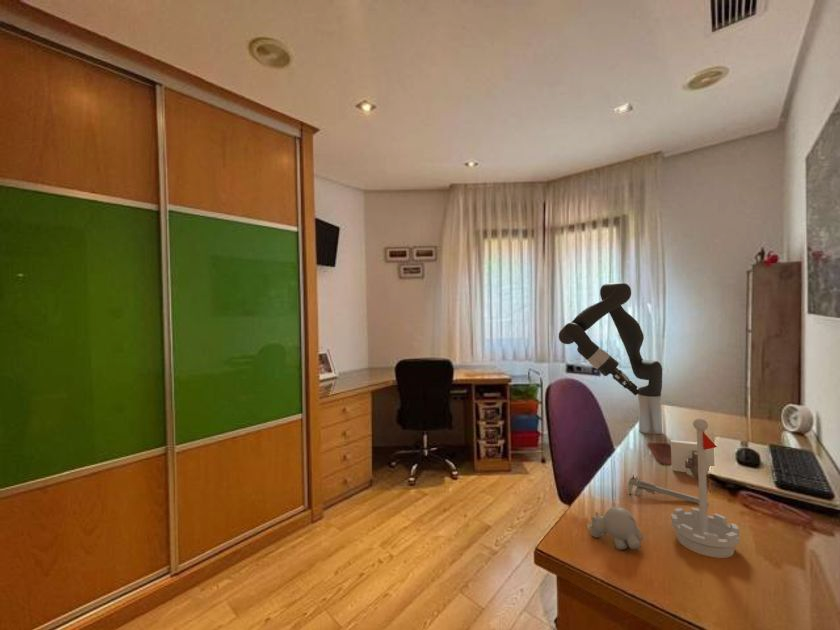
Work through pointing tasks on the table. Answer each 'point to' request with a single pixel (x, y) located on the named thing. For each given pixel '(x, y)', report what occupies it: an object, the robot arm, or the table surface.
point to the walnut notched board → (694, 463)
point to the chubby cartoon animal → (617, 527)
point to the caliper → (657, 490)
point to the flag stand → (704, 513)
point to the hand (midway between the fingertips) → (636, 391)
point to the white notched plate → (687, 455)
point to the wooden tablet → (663, 453)
